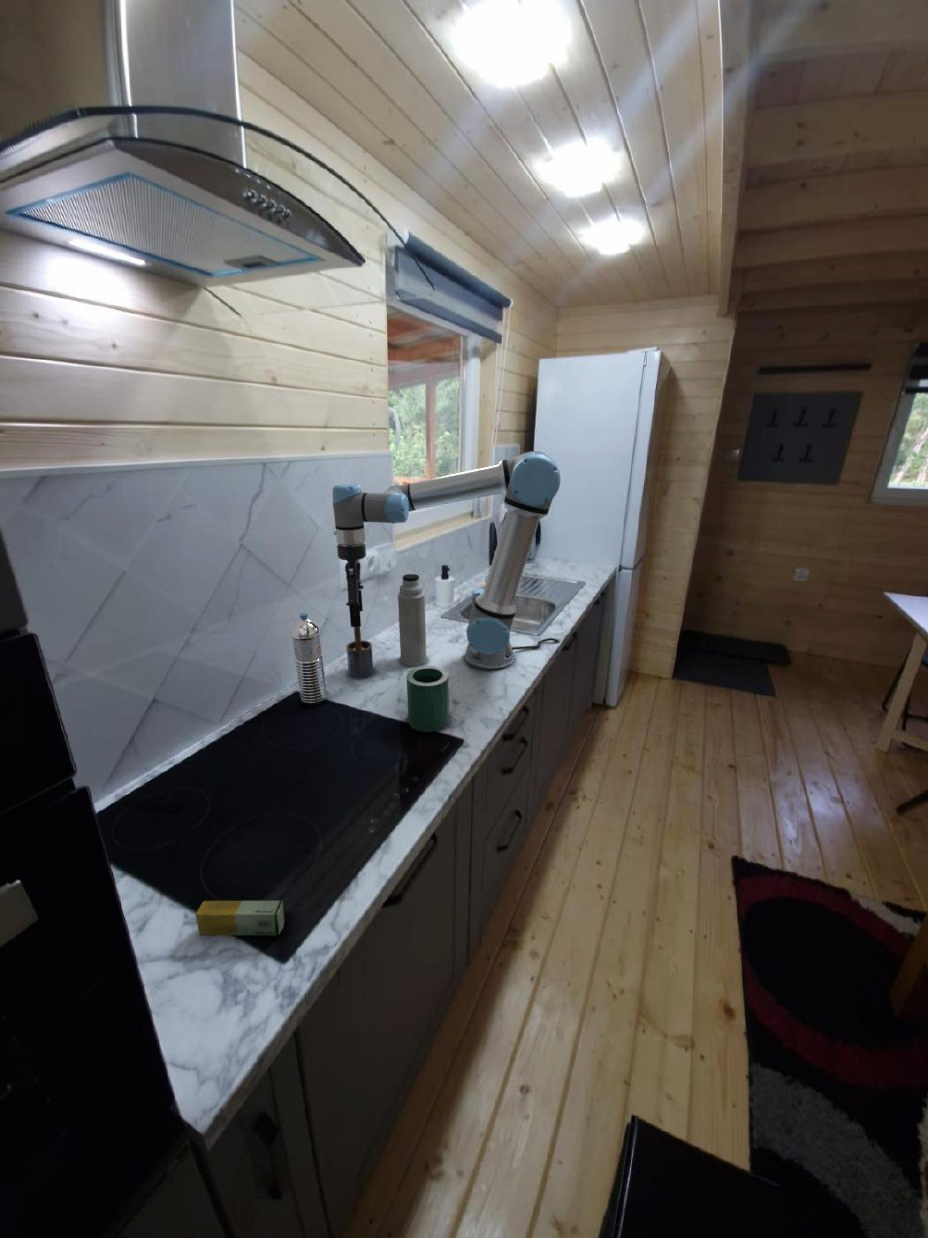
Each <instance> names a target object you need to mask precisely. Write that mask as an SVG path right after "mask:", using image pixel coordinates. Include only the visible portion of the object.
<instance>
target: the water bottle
mask: <svg viewBox="0 0 928 1238" xmlns="http://www.w3.org/2000/svg"><path fill="white" fill-rule="evenodd" d="M308 615H309V614H308V613H306V612H304V613H300V614H299V620H298V621H297V622H296V623H295V624H294V626H293V627H292V629H291V637H292V643H293V651H294V657H295V659H294V660H295V667H296V675H297V682H298V689H299V690H298V691H299V697H300V702H301V703H302V704H303V705H306V706H309V707H311V706H313V707H314V706H318V705H320V704H322V703H324V702H325V701H326V700H327V694H328V693H327V685H326V677H325V668H324V659H323V658H324V657H323V653H322V646H321V645H322V644H321V637H320V633H321V632H320V627H319V626H318V624H316V623H315V622H314V621H313V620H311V619H309V617H308Z"/></svg>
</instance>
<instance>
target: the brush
mask: <svg viewBox="0 0 928 1238" xmlns="http://www.w3.org/2000/svg"><path fill="white" fill-rule="evenodd" d="M351 601H355V600H351ZM361 633H362V632H361V627H353V635H354V641H355V648H353V650H363V649H365V648H364V647H362V645H361V641H362V634H361Z"/></svg>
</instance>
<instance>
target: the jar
mask: <svg viewBox="0 0 928 1238" xmlns="http://www.w3.org/2000/svg"><path fill="white" fill-rule="evenodd" d="M405 676H406V694H407V695H406V696H407V697H406V698H407V720H408V721H407V722H408V725H409V726H410V727H411V728H412V729H413V730H415V731H418V732H421V733H433V732H438V731H440V730H442V729H445V728H446V727H447V725H448V724H449V720H450V680H449V679H450V676H449V672H448V671H447V670H446V669H445V668H442V667H440V666H436V665H420V666H416V667H414V668H412V669H410V670H409V671H408V672H407V673H406V675H405Z"/></svg>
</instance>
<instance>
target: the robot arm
mask: <svg viewBox="0 0 928 1238" xmlns="http://www.w3.org/2000/svg"><path fill="white" fill-rule="evenodd" d="M560 485H561V473H560V469H559V466H558V464H557V463H556V461H555V460H553V458H552V457H550V456H549V455H548V454H546V453H545V452H542V451H537V450H532V451H527V452H525V453H522V454H519V455H517V456H513V457H510V458H507V459H501V460H500V461H499V463H498V464H496V465H491V466H488V467H482V468H477V469H472V470H469V471H463V472H458V473H454V474H449V475H444V476H440V477H436V478H429V479H425V480H421V481H420V480H419V481H416V482H411V483H407V484H397V485H392V486H390V487H389V488H387V489H386V490H384V491H383V492H363V489H362V486H361V485H360V484H357V483H342V484H341V483H340V484H336V485H334V486H333V488H332V506H333V507H332V508H333V517H334V527H335V531H333V535H334V536H336V538H335V539H336V543H337V545H336V551H337V557H338V559H340V560H341V561H346V563H345V565H344V571H345V574H346V577H345V578H346V581H347V583H346V584H347V599H348V600H347V601H348V602H346V603H345V605H346V607H348V609H349V610H348V611H349V621H350V628H354V627H360V628H361V627H362V622H361V621H362V620H361V612H363V610H364V608H363V595H362V590H364V585H363V584H362V581H361V568H362V567H361V562H359V560H363V559H365V558H366V557H367V549H366V543H365V542H366V534H365V533H366V532H365V523H386V524H403V523H406V522H407V521H408V518H409V514H410V512H415V511H417V510H423V509H429V508H433V507H439V506H444V505H449V504H454V503H460V502H464V501H469V500H475V499H481V498H485V497H489V496H495V495H501V494H503V495H505V496H504V499H503V504H504V506H505V508H506V514H505V518H504V521H503V524H502V527H501V531H500V535H499V538H498V541H497V545H496V548H495V551H494V555H493V558H492V562H491V565H490V568H489V573H488V576H487V577H486V578H487V579H486V583H485V586H484V587H483V588H477V589H475V590H473V592H472V594H471V611H470V615H469V620H468V625H467V627H466V629H465V630H466V631H465V632H466V639H467V642H468V644H467V647H466V649H465V656H464V657H465V658H464V659H465V661H466V663H467V664H469V665H470V666H472V667H474V668H477V669H482V670H499V669H504V668H506V667H509V666H510V665H511V664H512V663H513V662H514V651H516V650H527V649H538V648H540V646H541V644H542V643H545V642H548V641H553V642H555V643H560V640H558V639H556V638H554V637H548V638H543V639H541V640H539V641H537V645H526V646H525V645H524V646H513V647H512V644H511V641H510V638H511V636H510V635H511V634H510V633H511V632H510V631H511V628H512V626H513V622H514V619H515V615H516V613H517V608H516V606H515V604H514V601H515V598H516V594H517V591H518V588H519V585H520V582H521V580H522V576H523V573H524V570H525V566H526V563H527V561H528V557H529V554H530V550H531V548H532V544H533V541H534V539H535V536H536V532H537V529H538V526H539V524H540V520H541V519H543V518H544V517H547V516H548V514H549V511H550V508H551V505H552V502H553V501H554V498H555V497H556V495H557V494H558V492H559V489H560V487H561V486H560ZM352 600H355V601H352Z"/></svg>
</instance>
